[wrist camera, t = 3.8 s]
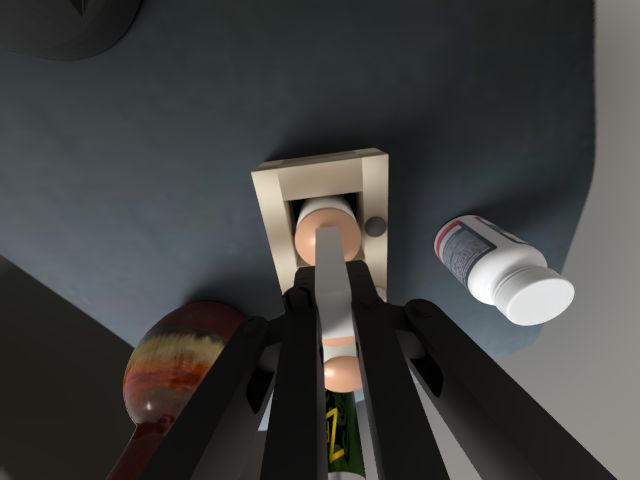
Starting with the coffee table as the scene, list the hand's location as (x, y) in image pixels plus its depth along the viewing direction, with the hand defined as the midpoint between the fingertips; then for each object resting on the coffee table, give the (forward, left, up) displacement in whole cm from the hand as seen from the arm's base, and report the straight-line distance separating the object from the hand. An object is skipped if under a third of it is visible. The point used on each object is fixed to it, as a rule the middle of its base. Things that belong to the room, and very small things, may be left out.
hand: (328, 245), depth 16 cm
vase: (+12, -15, -6) cm, 20 cm away
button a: (0, 0, -5) cm, 5 cm away
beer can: (+23, -2, -6) cm, 24 cm away
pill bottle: (+4, +13, -6) cm, 15 cm away
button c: (+13, 0, -3) cm, 13 cm away
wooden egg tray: (+6, 0, -6) cm, 9 cm away
